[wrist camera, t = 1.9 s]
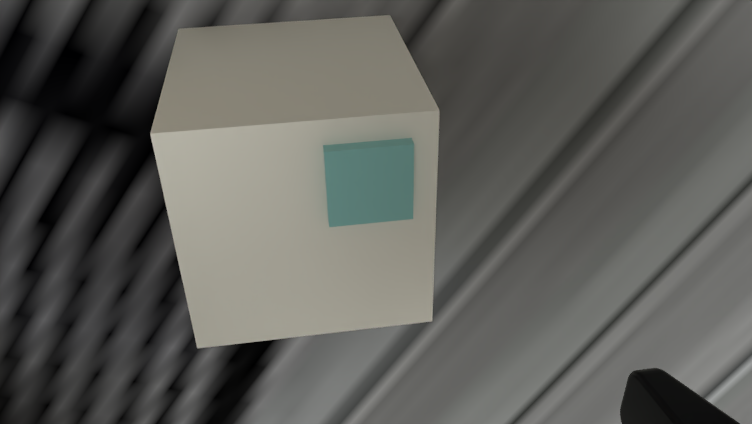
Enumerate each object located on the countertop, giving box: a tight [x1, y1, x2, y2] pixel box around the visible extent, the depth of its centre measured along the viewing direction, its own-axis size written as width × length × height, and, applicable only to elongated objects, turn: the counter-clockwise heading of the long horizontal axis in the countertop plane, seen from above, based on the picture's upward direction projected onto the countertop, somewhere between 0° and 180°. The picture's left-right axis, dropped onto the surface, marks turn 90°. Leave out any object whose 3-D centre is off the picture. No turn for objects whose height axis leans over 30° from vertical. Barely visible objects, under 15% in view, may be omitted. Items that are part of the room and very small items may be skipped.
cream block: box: [150, 15, 440, 348], centre depth 16 cm, size 5×5×6 cm
